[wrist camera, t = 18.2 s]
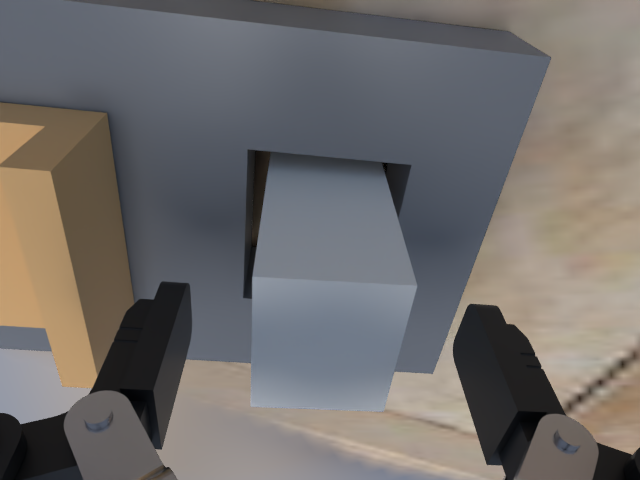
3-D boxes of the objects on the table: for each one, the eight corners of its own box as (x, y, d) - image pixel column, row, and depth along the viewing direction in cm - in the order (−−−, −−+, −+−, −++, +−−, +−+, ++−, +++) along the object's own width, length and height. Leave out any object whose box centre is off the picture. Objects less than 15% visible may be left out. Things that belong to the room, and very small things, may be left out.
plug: (274, 130, 19) (252, 276, 11) (374, 138, 19) (417, 285, 12) (269, 235, 22) (250, 406, 14) (357, 241, 22) (383, 411, 15)
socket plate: (-98, -42, 15) (-191, -30, 12) (509, 31, 17) (551, 57, 14) (13, 291, 23) (-29, 346, 20) (418, 319, 25) (432, 373, 22)
